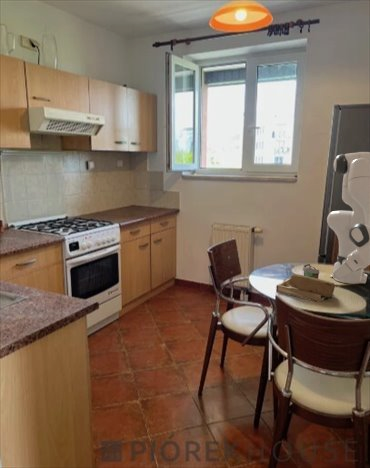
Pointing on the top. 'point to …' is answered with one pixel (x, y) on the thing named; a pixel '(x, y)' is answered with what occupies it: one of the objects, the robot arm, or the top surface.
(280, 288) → the wooden tray
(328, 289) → the block
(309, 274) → the food container
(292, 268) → the top surface
